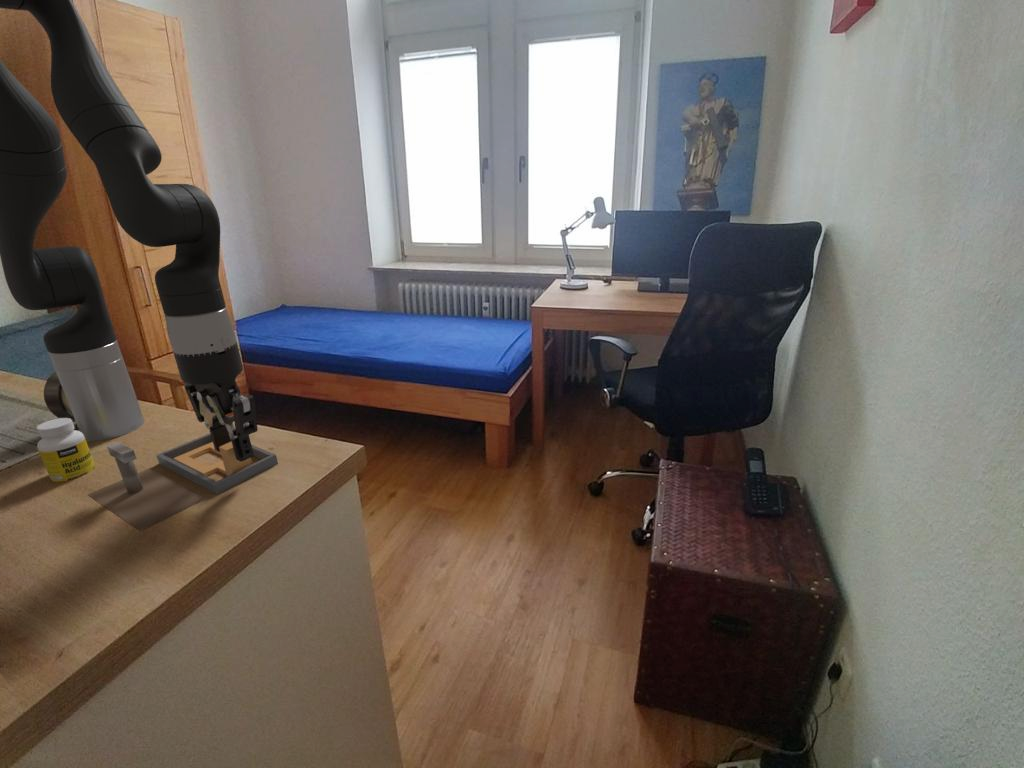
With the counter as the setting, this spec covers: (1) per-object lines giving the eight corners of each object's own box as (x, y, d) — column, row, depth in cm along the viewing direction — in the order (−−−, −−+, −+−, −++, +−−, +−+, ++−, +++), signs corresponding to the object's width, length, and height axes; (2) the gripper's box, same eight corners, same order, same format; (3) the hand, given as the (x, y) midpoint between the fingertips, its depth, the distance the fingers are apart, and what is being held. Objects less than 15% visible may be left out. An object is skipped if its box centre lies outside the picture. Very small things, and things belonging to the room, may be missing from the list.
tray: (161, 471, 79) (156, 455, 78) (221, 445, 86) (216, 430, 85) (219, 502, 71) (214, 484, 69) (279, 471, 78) (275, 454, 77)
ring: (176, 466, 79) (165, 432, 77) (216, 449, 84) (207, 416, 82) (225, 491, 72) (214, 455, 70) (265, 471, 77) (257, 436, 75)
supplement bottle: (71, 492, 74) (46, 433, 70) (45, 487, 76) (19, 429, 72) (107, 473, 79) (85, 417, 75) (82, 468, 80) (59, 414, 77)
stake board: (91, 503, 71) (70, 451, 68) (152, 476, 78) (135, 428, 74) (144, 540, 63) (123, 484, 60) (207, 507, 70) (191, 455, 66)
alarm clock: (76, 438, 91) (42, 353, 85) (52, 436, 92) (17, 352, 86) (130, 412, 101) (103, 335, 94) (108, 410, 102) (80, 334, 96)
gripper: (148, 343, 68) (183, 453, 74) (205, 359, 61) (238, 479, 67) (204, 330, 74) (232, 432, 80) (262, 343, 66) (287, 454, 73)
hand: (234, 453), depth 74 cm, fingers open, 5 cm apart
